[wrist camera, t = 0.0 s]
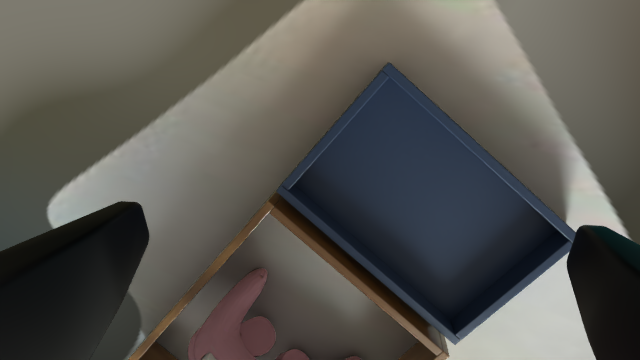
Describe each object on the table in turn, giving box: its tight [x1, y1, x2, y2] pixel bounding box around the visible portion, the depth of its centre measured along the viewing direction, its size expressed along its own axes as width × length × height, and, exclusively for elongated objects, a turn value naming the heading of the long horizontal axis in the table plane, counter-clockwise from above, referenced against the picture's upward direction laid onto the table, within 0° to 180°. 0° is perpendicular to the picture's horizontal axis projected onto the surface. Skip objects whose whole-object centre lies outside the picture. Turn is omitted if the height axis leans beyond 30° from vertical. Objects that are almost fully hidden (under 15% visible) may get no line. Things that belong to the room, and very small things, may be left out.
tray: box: [276, 63, 576, 345], centre depth 23 cm, size 9×14×2 cm, turn 49°
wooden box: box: [128, 191, 449, 360], centre depth 27 cm, size 15×14×2 cm
